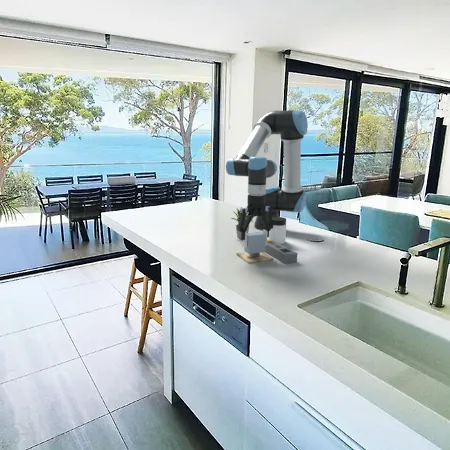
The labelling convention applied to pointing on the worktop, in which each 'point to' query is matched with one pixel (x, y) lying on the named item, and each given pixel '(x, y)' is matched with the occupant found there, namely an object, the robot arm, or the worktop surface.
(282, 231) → the jar
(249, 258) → the tan flat square block
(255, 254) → the block
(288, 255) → the power strip
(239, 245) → the worktop surface
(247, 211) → the house plant
